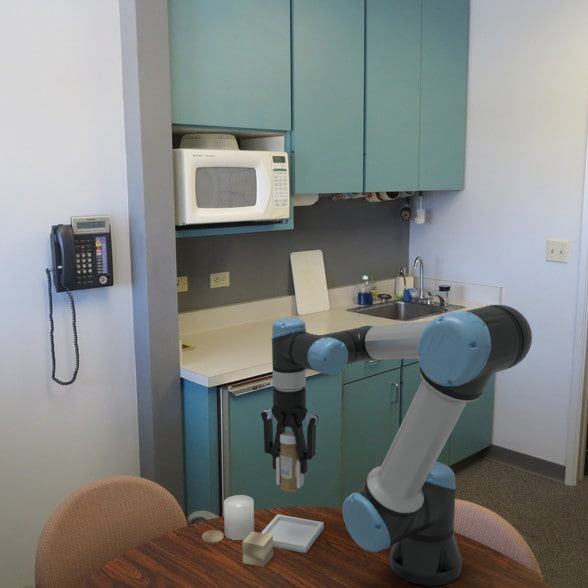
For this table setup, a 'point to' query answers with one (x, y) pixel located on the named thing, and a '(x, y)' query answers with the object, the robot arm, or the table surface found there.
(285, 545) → the tray
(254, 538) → the maple block
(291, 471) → the sprinkles bottle
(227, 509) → the frosted white cylinder
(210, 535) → the cork coaster
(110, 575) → the table surface
